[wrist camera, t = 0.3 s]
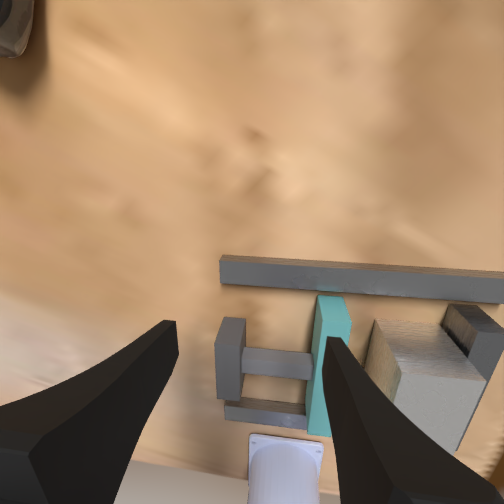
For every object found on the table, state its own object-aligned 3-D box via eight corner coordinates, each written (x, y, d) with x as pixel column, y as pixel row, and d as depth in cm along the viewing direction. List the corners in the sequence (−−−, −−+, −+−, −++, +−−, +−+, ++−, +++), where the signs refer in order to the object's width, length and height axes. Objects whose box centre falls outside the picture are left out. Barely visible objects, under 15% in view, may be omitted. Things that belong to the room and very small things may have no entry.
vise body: (445, 436, 27) (467, 476, 23) (227, 409, 29) (219, 442, 26) (515, 272, 20) (558, 297, 17) (222, 254, 22) (211, 273, 19)
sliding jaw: (325, 401, 27) (330, 437, 23) (226, 390, 28) (218, 422, 25) (342, 296, 22) (352, 322, 19) (223, 287, 23) (212, 311, 20)
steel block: (414, 393, 25) (449, 462, 20) (359, 387, 26) (378, 453, 20) (437, 322, 22) (486, 381, 17) (374, 317, 23) (402, 372, 17)
